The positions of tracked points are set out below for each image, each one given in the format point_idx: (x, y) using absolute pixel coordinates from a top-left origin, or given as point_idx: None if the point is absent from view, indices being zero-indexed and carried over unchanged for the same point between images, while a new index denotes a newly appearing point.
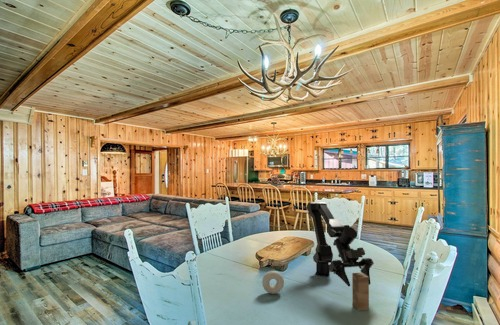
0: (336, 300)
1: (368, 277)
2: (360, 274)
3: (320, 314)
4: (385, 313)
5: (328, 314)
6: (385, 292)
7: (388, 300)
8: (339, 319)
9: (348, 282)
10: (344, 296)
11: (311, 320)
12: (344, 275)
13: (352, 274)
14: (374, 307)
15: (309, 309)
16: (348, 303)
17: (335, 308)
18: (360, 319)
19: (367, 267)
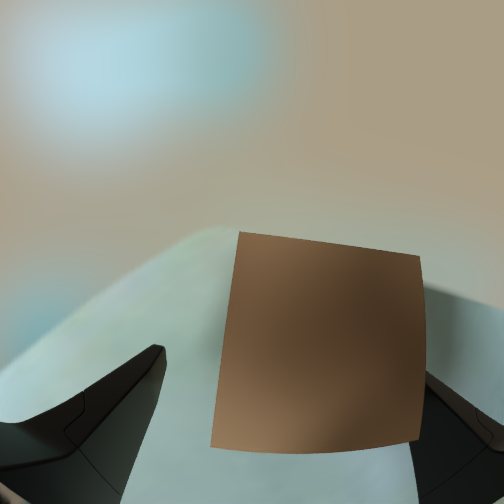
0: (358, 452)
1: (244, 236)
2: (319, 368)
3: (472, 338)
4: (179, 269)
5: (450, 334)
6: (24, 409)
7: (62, 354)
8: (428, 291)
9: (431, 376)
10: (279, 484)
11: (497, 308)
12: (483, 417)
13: (405, 434)
14: (188, 334)
15: (488, 377)
16: None
17: None
18: None
19: (15, 445)
